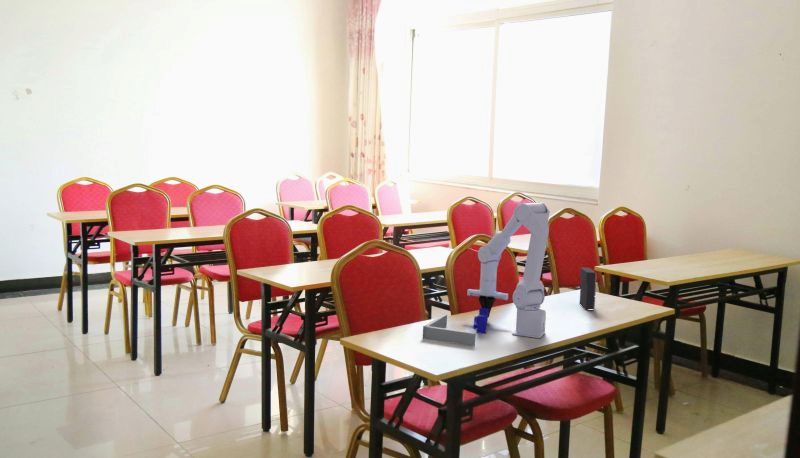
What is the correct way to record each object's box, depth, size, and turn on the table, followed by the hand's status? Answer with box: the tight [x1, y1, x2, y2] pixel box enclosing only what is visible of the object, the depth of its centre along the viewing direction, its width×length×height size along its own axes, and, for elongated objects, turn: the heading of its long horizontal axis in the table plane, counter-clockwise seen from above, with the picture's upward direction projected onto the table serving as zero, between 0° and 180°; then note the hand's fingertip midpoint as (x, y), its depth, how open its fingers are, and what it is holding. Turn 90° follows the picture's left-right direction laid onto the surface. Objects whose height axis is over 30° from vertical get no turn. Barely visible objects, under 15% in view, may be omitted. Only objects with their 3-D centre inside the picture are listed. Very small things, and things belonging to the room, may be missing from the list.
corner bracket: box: [422, 313, 476, 347], centre depth 241 cm, size 17×19×4 cm
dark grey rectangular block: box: [579, 267, 597, 310], centre depth 288 cm, size 11×4×15 cm, turn 179°
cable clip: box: [472, 307, 489, 335], centre depth 250 cm, size 12×4×6 cm, turn 170°
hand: (486, 317), depth 261 cm, fingers closed
